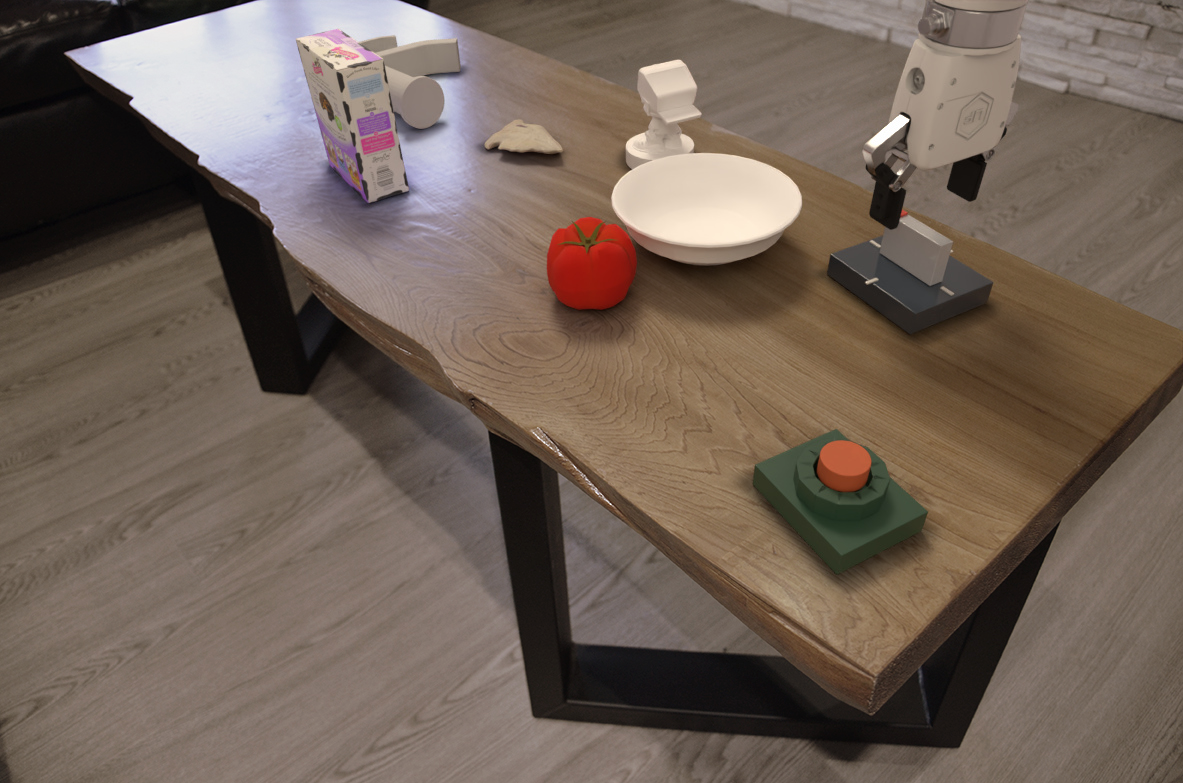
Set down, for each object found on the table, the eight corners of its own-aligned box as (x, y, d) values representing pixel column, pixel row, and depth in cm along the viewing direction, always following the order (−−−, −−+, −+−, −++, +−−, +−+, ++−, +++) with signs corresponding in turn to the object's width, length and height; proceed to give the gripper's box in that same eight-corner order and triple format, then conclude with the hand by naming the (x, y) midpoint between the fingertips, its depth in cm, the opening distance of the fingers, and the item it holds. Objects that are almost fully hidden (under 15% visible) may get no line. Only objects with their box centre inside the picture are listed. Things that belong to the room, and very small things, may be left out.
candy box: (411, 191, 105) (385, 57, 94) (367, 206, 102) (334, 70, 92) (368, 152, 114) (340, 25, 103) (327, 164, 111) (293, 36, 100)
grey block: (942, 281, 82) (954, 239, 79) (929, 286, 81) (941, 243, 78) (891, 248, 86) (900, 207, 83) (879, 252, 86) (888, 211, 83)
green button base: (922, 531, 62) (934, 494, 60) (836, 575, 60) (845, 539, 57) (832, 447, 69) (840, 411, 66) (752, 484, 66) (756, 448, 64)
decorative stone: (522, 134, 118) (517, 113, 116) (585, 145, 111) (581, 123, 109) (479, 158, 114) (474, 136, 112) (542, 171, 107) (537, 149, 105)
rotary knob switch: (991, 301, 83) (999, 278, 82) (905, 336, 80) (911, 314, 78) (904, 245, 91) (909, 224, 90) (821, 276, 88) (825, 253, 86)
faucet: (397, 84, 113) (308, 45, 127) (406, 134, 117) (319, 91, 132) (515, 50, 123) (421, 18, 138) (519, 97, 127) (427, 61, 142)
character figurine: (672, 139, 113) (675, 48, 105) (710, 167, 107) (716, 72, 99) (614, 154, 110) (612, 61, 102) (649, 184, 104) (650, 87, 96)
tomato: (582, 263, 91) (579, 200, 86) (652, 288, 87) (652, 224, 82) (527, 305, 86) (520, 241, 81) (599, 335, 82) (596, 269, 77)
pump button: (877, 480, 61) (882, 464, 60) (839, 499, 60) (842, 482, 59) (844, 450, 64) (848, 433, 63) (806, 467, 63) (809, 451, 61)
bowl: (816, 222, 96) (824, 170, 92) (763, 318, 83) (769, 262, 78) (654, 190, 103) (655, 140, 99) (581, 274, 90) (578, 221, 85)
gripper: (924, 57, 63) (879, 253, 74) (1084, 13, 69) (1020, 201, 80) (855, 28, 68) (823, 215, 79) (1010, -11, 74) (959, 170, 85)
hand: (922, 208), depth 80 cm, fingers open, 9 cm apart
